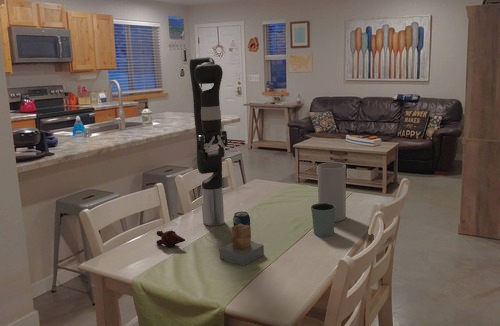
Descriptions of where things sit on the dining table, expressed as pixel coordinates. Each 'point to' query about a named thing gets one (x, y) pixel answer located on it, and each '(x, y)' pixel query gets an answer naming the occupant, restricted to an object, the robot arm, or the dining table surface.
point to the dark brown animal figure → (169, 238)
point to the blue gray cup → (323, 219)
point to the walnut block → (241, 236)
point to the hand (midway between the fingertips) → (213, 159)
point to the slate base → (241, 253)
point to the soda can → (241, 219)
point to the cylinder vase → (333, 187)
